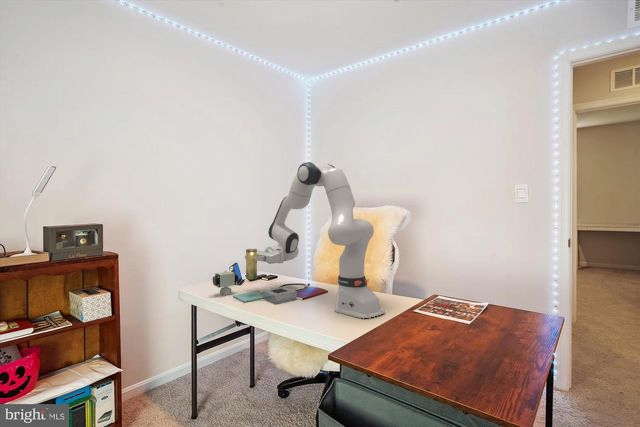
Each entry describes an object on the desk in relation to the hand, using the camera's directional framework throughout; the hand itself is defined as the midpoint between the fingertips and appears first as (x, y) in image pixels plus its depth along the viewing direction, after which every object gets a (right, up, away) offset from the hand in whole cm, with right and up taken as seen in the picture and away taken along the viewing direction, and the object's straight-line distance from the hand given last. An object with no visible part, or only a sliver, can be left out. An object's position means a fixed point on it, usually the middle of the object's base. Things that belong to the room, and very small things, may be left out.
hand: (249, 258), depth 162 cm
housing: (+14, -19, -1) cm, 24 cm away
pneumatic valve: (-14, -19, +7) cm, 25 cm away
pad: (0, -19, +1) cm, 19 cm away
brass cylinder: (+1, -10, +1) cm, 10 cm away
